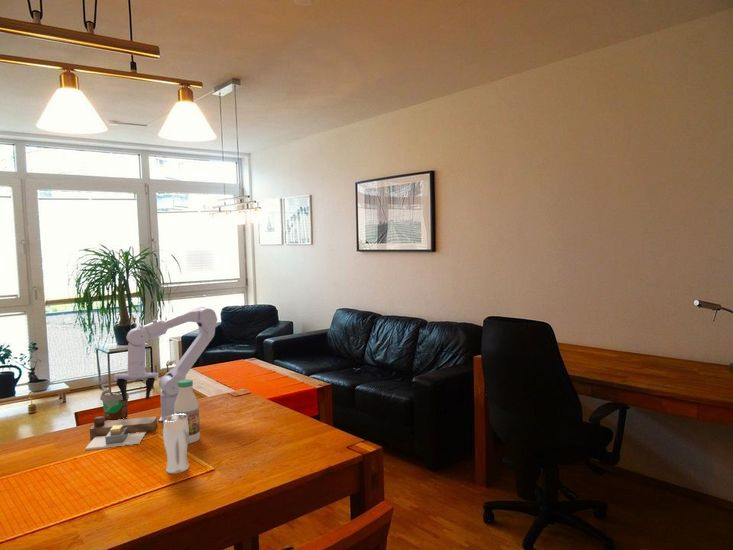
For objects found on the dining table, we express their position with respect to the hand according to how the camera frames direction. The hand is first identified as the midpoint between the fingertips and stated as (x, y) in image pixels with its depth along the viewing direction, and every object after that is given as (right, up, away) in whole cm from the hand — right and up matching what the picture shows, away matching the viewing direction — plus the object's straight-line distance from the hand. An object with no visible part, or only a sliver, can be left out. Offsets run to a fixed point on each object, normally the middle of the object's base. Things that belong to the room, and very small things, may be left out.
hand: (136, 399), depth 176 cm
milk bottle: (+25, -10, -16) cm, 31 cm away
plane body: (-1, -10, -6) cm, 11 cm away
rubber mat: (+1, -10, -15) cm, 18 cm away
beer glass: (+30, -11, -37) cm, 49 cm away
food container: (-13, -10, +7) cm, 17 cm away
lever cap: (+1, -10, -15) cm, 18 cm away
